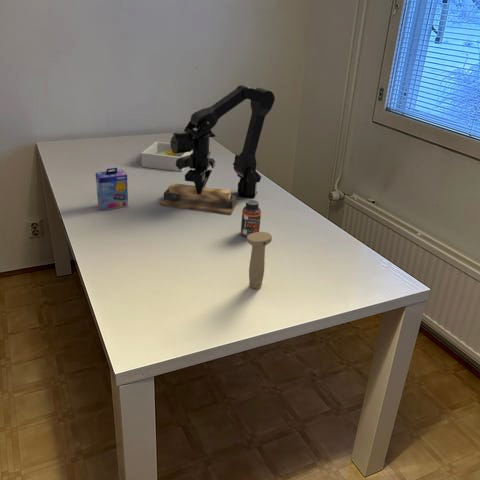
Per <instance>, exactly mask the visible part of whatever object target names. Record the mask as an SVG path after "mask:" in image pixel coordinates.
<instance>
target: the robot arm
mask: <svg viewBox="0 0 480 480" xmlns="http://www.w3.org/2000/svg"><path fill="white" fill-rule="evenodd" d="M246 100H250V108H251V115H250V120H249V123H248V126H247V127H248V128H247V132H246V136H245V139H244V144H243V148H242V151H241V152H240V153H239V154H235V156H234V161H233V164H232V165H233V171H234V172H235V173H236V175H237V176H236V177H238V178H240V179H239V181H238V182H237V197H241V198H249V199H255V198H256V195H257V194H258V191H257V187H258V183H260V182H261V180H262V176H261V175H260V174H259V172H258V171H257V157H256V153H257V149H258V145H259V142H260V137H261V133H262V131H263V126H264V123H265V119H266V116H267V115H268V114H269V113H270V112H271V110H272V107H273V106H274V103H275V100H276V96H275V94H274V92H273V91H271V90H268V89H265V88H263V87H256V88H251V87H249V86H246V85H243V84H240V85H238V86H237V87H236V88H235V89H233V90H232V91H230V92H229V93H228V94H227V95H225V96H224V97H223V98H221V99H219V100H218V101H216V102H215V103H214V104H212V105H211V106H209V107H205V108H202V109H199V110H197V111H195V112H193V114H191V116H190V120H189V122H188V123H187V125H186V126H185V127H184V129H183V131H181V132H176V131H175V132H173V134H172V137H171V138H170V141H169V143H170V145H171V149H172V152H173V153H174V154H177V153H185V152H191V151H192V150H193V152H192V153H191V154H190V155H188V156H184V157H180V158H178V159H177V160H176V167H178V168H179V170H180V169H182V168H185V169H186V168H189V170H188V171H186V173H185V174H184V181H185V182H192V183H193V185H194V186H195V187H196V191H197V194H201V192H202V189H203V187H206V185H207V183H208V181H209V179H210V176H211V175H212V173H213V170H212V169H214V168H215V167H216V160H215V159H214V158H210V157H211V155H212V153H211V151H210V138H215V137H216V136H217V135H216V134H214V132H213V131H212V129H213V128H214V127H216V125H217V123H218V121H219V120H220V119H221V117H223V116H224V115H226V114H227V113H229V112H230V111H232V110H233V109H234V108H236V107H237V106H239V105H240V104H241V103H243V102H244V101H246ZM210 167H211V169H209V168H210Z"/></svg>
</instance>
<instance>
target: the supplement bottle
mask: <svg viewBox="0 0 480 480" xmlns="http://www.w3.org/2000/svg"><path fill="white" fill-rule="evenodd" d="M259 206H260V202H259V201H258V200H255V199H249V200H246V202H245V206H243V208H242V211H241V223H240V225H241V226H240V235H242V236H243V237H245V238H247V236H248V235H249V234H251V233H255V232H260V225H261V217H262V216H261V215H262V210H261V208H260V207H259Z"/></svg>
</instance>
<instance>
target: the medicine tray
mask: <svg viewBox="0 0 480 480" xmlns="http://www.w3.org/2000/svg"><path fill="white" fill-rule="evenodd" d="M167 150H171V145H170V142H162V141H155V142H153V144H151V145H150V146H148V147H147V148H146V149H145V150H143V151H142V152H141V153H140V155H141V167H142V168H148V169H149V168H151V169H158V170H166V171H175V172H184V170H186V168H182V169H180V170H179V168H178V167H176V160H177V159H178V158H180V157H184V156H188V155H190V154H191V153H192V152H193V150H192V151H191V152H185V153H177V154H176V156H168V155H160V154H155V153H159V152H163V151H167Z"/></svg>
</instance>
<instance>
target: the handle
mask: <svg viewBox="0 0 480 480" xmlns="http://www.w3.org/2000/svg"><path fill="white" fill-rule="evenodd" d="M272 240H273V236H272V234H270V233H269V232H268V231H267V232H266V231H259V232H255V233H251V234H249V235H248V236H247V237H246V243H247V244H249V245H250V246H251V251H250V252H251V254H250V259H249V268H248V281H249V282H248V284H249V285H248V286H249V287H250V288H251V289H252V290H255V289H256V290H259V289H260V288H261V287H262V285H263V281H264V275H265V263H266V262H265V261H266V260H265V257H266V255H265V254H266V246H267V245H269V244H270V243H271V242H272Z"/></svg>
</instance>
